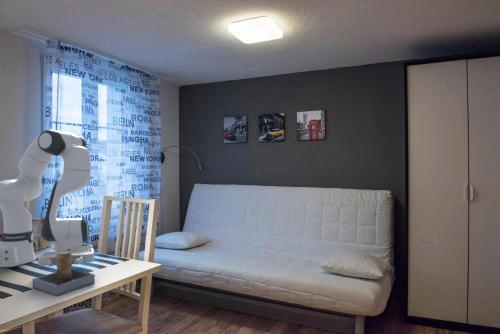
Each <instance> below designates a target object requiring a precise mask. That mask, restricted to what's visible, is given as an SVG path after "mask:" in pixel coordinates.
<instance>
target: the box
mask: <svg viewBox="0 0 500 334" xmlns="http://www.w3.org/2000/svg"><path fill="white" fill-rule="evenodd" d="M95 277H96V276H95V273H91V272H88V271H84V270H80V269H76V268H73V267H72V281H69V282H66V283H63V284H60V285H57V271H55V272H51V273H49V274H48V273H47V274H45V275H42V276H38V277H34V278H32V282H31V283H32V289H34V290H36V291H40V292H43V293H46V294H47V295H51V296H54V297H60V296H62V295H65V294H68V293H71V292H73V291H76V290H79V289H82V288H85V287H87V286H90V285H94V284H95Z"/></svg>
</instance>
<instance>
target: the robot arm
mask: <svg viewBox="0 0 500 334" xmlns="http://www.w3.org/2000/svg"><path fill="white" fill-rule="evenodd" d="M58 156H60V157H61V158H62V159H63V172H62V175H61V177H60V179H59V180H58V181H56V182H54V184H53V186H52V190H51V191H50V196H49V201H48V204H47V208H46V213H45V214H44V215H45V216H44V217H45V219H44V222H43V225H42V227H41V237H42V238H43V239H45V240H46V241H48V242H53V241H64V240H68V241H67V242H66V243H65V244H64V245H63V246H62V248H61V249H60V250H59V252H55V251H48V252H44V253H43V252H42V254H40V255H39V256H38V257H36V253H35V250H34V249H33V230H32V219H33V217H32V213H31V212H30V211H29V210H27V208H26V206H25V202H27V201H28V202H29V201H32V200H34V199H37V198H38V197H40V196H41V195H42V193H43V190H44V187H43V184H42V178H43V176H44V173H45V172H46V170H47V168H48V167H49V165H50V164H51V162H52V160H53V158H54V157H58ZM91 167H92V165H91V155H90V151H89V150H88V149H87V141H86V139H85V138H84V137H82V136H80V135H79V134H74V133H72V132H69V131H62V130H57V129H46V130H43V131H42V132H40V134H39V135H37V136H36V137H35V138H34V139H33V140H32V141H31V142H30V143H29V146H28V147H27V148H26V149H25V151H24V153H23V155H22V156H21V158H20V160H19V162H18V163H17V169H18V170H19V174H18V176H17V177H16V178H15V179H13V178H12V179H4V180H0V211H1V213H2V219H3V231H2V232H1V233H0V268H12V267H17V266H19V265H24V264H28V263H31V262H33V261H35V260H36V259H37V265H38V266H40V267H43V266H47V267H53V266H55V265H56V266H57V253H60V252H71V261H72V265H80V264H84V263H93V262H94V261H95V249H94V247H93V245H92V244H86V243H87V241H88V240H89V236H90V225H89V223H88V222H87V220H86V219H85V218H83V217H70V218H66V217H65V218H63V217H61V218H60V217H59V218H58V212H59V208H60V204H61V201H62V200H63V199H62V198H64V197H65V196H67V195H69V194H71V193H75V192H78V191H80V190H83V189H84V188H86V187H87V186H88V185H89V183H90V179H91V174H92V173H91V170H92V169H91Z"/></svg>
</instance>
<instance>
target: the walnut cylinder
mask: <svg viewBox="0 0 500 334" xmlns="http://www.w3.org/2000/svg"><path fill="white" fill-rule="evenodd" d="M72 265H73V264H72V261H71V252H60V253H57V265H56V272H57V285H60V284H63V283H66V282H69V281H72V268H73V267H72Z"/></svg>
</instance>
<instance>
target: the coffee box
mask: <svg viewBox="0 0 500 334" xmlns="http://www.w3.org/2000/svg"><path fill="white" fill-rule="evenodd" d="M44 219H45V216H39V217H35V218H32V230H33V249H34V251H39V250H42V249H45V248H48V247H49V248H50V242H48V241H46V240H45V239H43V238H42V237H41V227H42V225H43V222H44Z"/></svg>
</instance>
